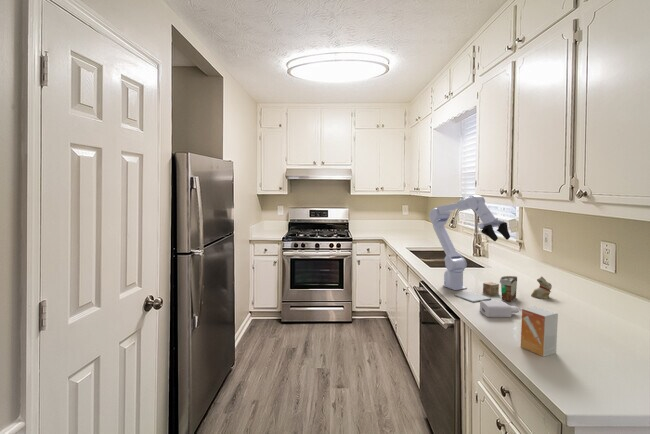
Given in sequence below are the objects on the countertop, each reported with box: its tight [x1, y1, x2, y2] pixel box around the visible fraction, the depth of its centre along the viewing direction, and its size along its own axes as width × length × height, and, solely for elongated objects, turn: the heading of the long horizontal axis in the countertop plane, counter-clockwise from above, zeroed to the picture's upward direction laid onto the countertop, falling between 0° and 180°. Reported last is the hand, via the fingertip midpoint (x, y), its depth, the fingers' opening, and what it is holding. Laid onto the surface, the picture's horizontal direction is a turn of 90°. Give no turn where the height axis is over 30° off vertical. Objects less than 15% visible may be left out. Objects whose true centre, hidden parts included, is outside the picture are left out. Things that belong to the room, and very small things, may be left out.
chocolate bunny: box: [530, 275, 553, 299], centre depth 178 cm, size 6×8×10 cm
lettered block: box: [482, 281, 500, 296], centre depth 185 cm, size 5×5×5 cm
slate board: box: [454, 291, 492, 303], centre depth 178 cm, size 12×11×1 cm
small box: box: [520, 305, 559, 358], centre depth 119 cm, size 8×6×13 cm
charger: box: [479, 300, 523, 318], centre depth 154 cm, size 5×9×15 cm
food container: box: [499, 275, 518, 303], centre depth 175 cm, size 12×6×10 cm, turn 141°
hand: (502, 239), depth 169 cm, fingers open, 7 cm apart
